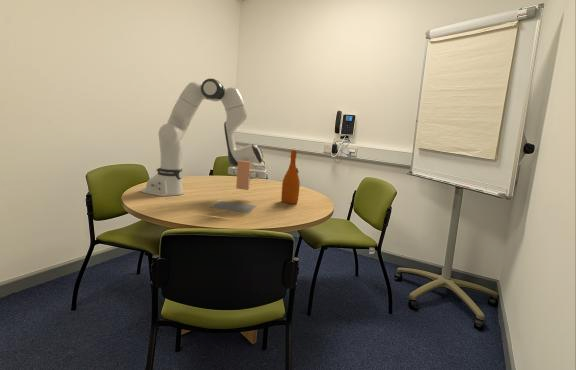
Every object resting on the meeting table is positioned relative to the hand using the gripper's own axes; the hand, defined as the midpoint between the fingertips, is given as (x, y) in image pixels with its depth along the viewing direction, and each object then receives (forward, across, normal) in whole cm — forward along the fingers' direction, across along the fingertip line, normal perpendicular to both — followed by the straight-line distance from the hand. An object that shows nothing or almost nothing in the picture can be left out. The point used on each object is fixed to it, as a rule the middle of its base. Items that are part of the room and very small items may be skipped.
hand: (243, 174), depth 176 cm
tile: (-1, 0, +8) cm, 8 cm away
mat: (0, -4, +18) cm, 18 cm away
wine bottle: (-26, +20, +18) cm, 38 cm away
